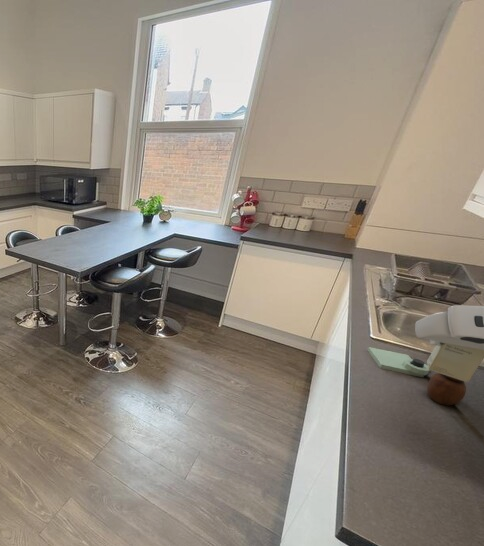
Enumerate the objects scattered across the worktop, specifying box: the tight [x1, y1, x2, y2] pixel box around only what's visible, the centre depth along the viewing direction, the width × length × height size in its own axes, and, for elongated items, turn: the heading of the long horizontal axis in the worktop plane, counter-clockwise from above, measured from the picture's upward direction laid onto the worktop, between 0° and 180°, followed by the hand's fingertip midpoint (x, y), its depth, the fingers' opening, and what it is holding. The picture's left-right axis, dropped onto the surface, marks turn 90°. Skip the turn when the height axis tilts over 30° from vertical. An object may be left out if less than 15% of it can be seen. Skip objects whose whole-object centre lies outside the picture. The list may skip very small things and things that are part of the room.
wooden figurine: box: [426, 372, 467, 406], centre depth 80 cm, size 7×6×15 cm
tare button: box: [411, 358, 426, 368], centre depth 92 cm, size 2×2×2 cm
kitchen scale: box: [367, 346, 431, 378], centre depth 96 cm, size 11×11×3 cm
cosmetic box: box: [426, 343, 484, 383], centre depth 68 cm, size 6×4×12 cm
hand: (458, 346), depth 69 cm, fingers closed on cosmetic box, 7 cm apart
